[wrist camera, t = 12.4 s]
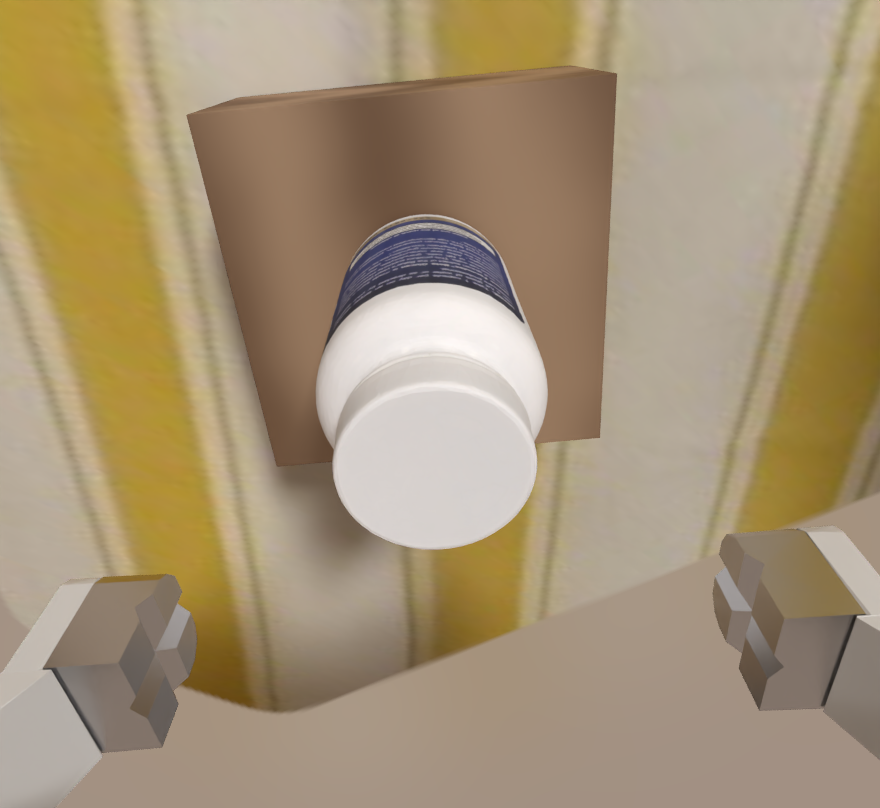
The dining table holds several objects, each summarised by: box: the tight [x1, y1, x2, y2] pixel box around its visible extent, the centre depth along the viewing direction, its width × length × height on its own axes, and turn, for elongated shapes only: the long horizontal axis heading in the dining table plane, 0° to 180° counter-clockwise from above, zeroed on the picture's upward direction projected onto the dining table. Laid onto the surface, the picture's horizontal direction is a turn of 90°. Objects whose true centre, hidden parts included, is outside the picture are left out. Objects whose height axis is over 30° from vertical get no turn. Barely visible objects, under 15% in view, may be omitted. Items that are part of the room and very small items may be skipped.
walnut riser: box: [187, 66, 617, 466], centre depth 23 cm, size 12×12×6 cm
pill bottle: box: [316, 214, 548, 550], centre depth 17 cm, size 5×5×10 cm
